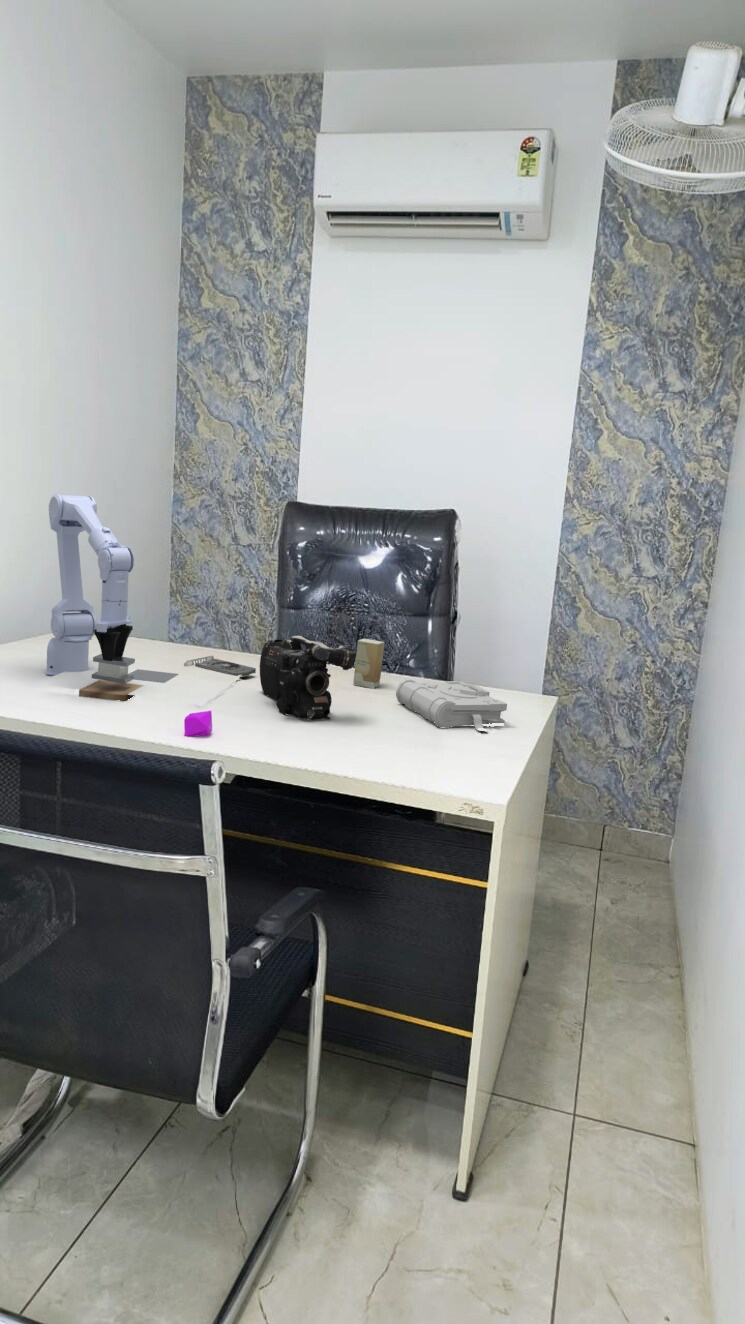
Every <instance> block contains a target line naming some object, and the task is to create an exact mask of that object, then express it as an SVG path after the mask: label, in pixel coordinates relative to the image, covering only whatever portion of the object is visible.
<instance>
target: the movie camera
mask: <svg viewBox="0 0 745 1324" xmlns="http://www.w3.org/2000/svg"><path fill="white" fill-rule="evenodd" d="M302 645H303V646H304V647H305V650H304V651H303V648H302ZM356 653H357V652H355V651H354V649H352V648H350V647H348V646H345V645H337V646H335V647H329V646H327V645H325V644H324V643H323V642H321V641H318V640H315V639H312V638H309V637H306V636H303V635H294V636H291V637H290V639H281V638H280V639H269V640H268V641H266V642H265V643H264V645H263V646H262V649H261V654H260V659H259V681H260V685H261V689H262V693H263V694H264V695H265V696H267V697H268V698H271V699H272V700H275V702H276V703H275V705H276V707H277V709H278V712H279V713H280V714H282V715H284V716H285V715H288V716H289V715H290V716H291V715H292V716H293V717H295V718H298V719H301V720H310V721H319V720H330V719H331V717H330V716H329V715H330V714H331V706H332V694H331V692H330V691H329V690H327V689H328V688H329V686H330V678H331V674H330V673H328V671H329V668H327V665H328V664H327V663H330V664H332V665H334V666H336V667H340V668H342V670H343V671H348V670H351V669H352V668H353V667H355V663H356ZM308 712H313V714H312V716H309V715H308Z"/></svg>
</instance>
